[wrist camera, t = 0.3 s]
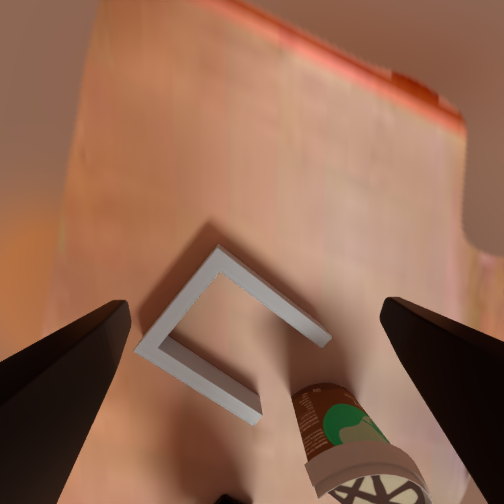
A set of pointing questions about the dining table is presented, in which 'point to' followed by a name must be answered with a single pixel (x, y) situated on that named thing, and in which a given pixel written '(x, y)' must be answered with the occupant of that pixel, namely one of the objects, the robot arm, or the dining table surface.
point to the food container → (353, 451)
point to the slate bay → (197, 369)
